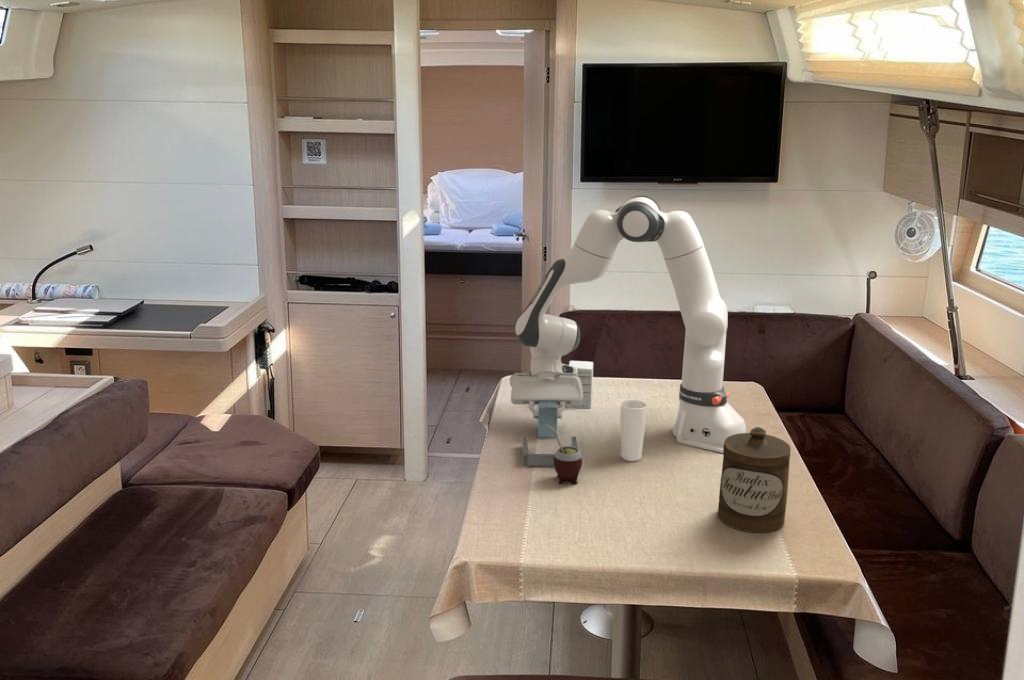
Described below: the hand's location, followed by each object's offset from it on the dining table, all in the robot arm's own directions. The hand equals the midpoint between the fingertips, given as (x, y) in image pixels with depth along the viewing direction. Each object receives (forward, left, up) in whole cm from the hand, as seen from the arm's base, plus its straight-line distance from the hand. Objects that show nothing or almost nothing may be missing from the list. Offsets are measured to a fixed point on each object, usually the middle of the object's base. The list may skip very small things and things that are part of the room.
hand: (547, 417), depth 264 cm
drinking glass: (-27, -3, -5) cm, 27 cm away
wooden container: (-67, +5, -5) cm, 67 cm away
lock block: (0, 0, -5) cm, 5 cm away
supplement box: (+9, -25, -5) cm, 28 cm away
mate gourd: (-24, +20, -5) cm, 31 cm away
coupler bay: (-11, +11, -5) cm, 16 cm away
